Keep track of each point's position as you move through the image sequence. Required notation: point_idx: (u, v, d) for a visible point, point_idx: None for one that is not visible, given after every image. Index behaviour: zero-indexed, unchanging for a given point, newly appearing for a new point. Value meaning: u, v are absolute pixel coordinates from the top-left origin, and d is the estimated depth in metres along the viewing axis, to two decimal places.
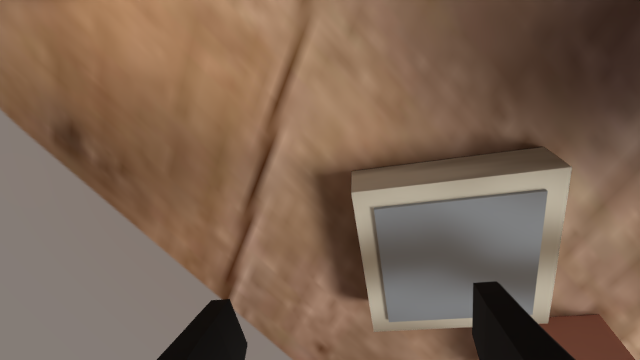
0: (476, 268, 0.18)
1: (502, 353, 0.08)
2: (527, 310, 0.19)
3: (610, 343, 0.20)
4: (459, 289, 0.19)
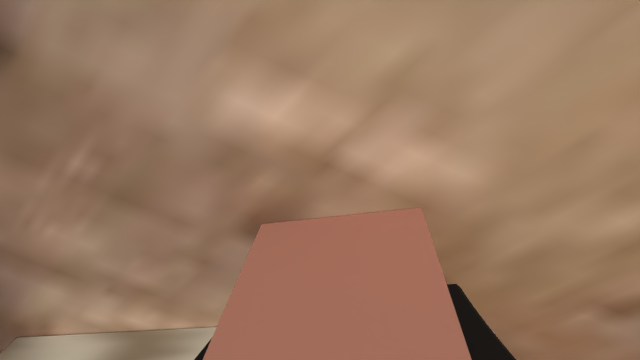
0: None
1: None
2: None
3: None
4: None
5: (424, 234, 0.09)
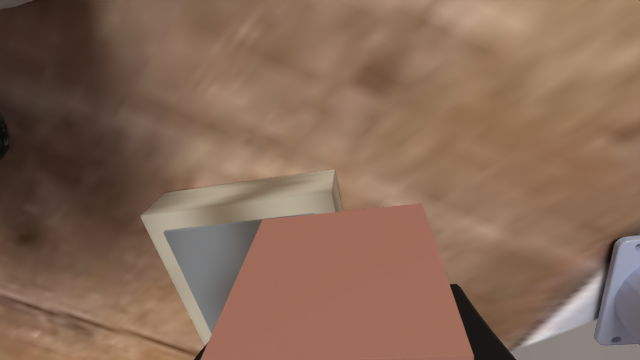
0: None
1: None
2: None
3: None
4: None
5: (425, 229, 0.09)
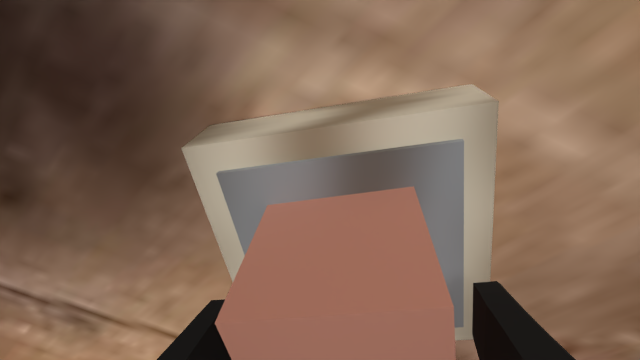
0: None
1: (502, 353, 0.08)
2: (451, 151, 0.10)
3: None
4: None
5: (416, 208, 0.10)
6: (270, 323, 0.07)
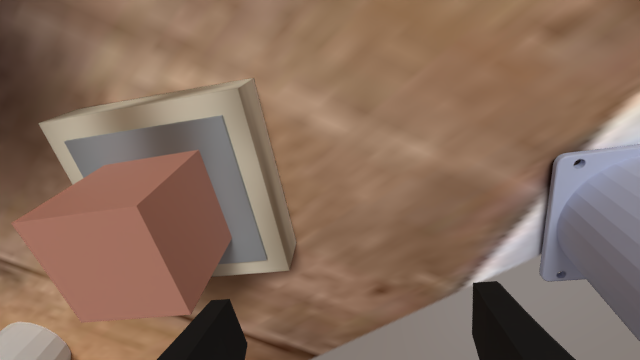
0: None
1: (502, 353, 0.08)
2: (215, 123, 0.15)
3: None
4: None
5: (183, 161, 0.14)
6: (43, 222, 0.12)
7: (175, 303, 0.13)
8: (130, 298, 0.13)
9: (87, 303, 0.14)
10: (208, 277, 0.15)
